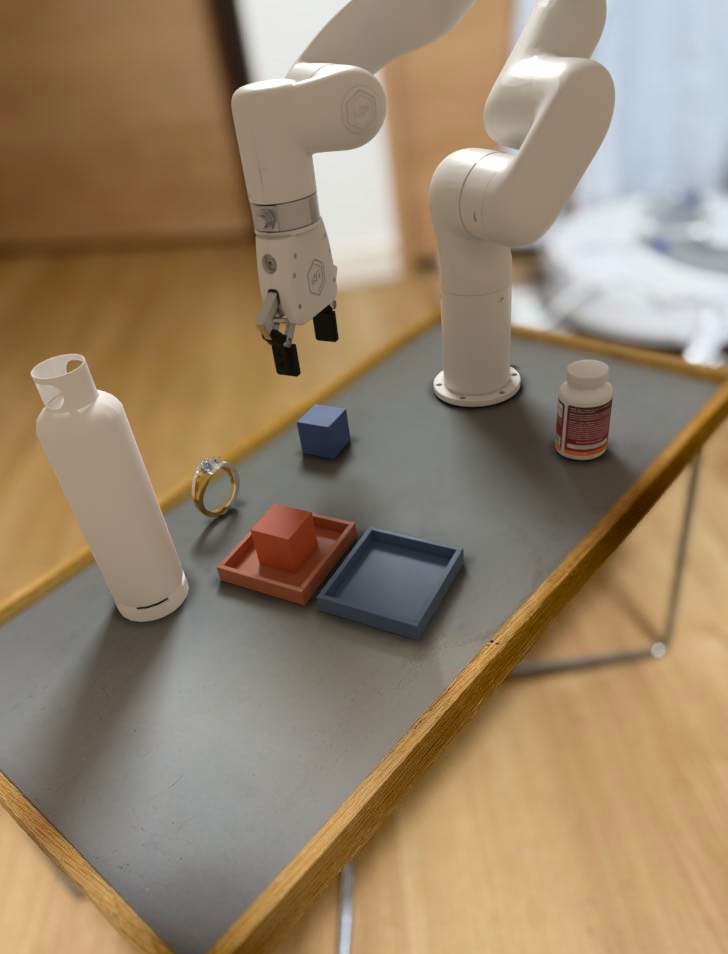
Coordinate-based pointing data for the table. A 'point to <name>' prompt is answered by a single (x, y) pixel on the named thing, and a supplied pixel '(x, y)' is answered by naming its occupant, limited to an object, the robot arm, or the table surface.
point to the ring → (199, 491)
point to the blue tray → (392, 581)
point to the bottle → (108, 489)
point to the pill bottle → (584, 410)
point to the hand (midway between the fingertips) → (308, 356)
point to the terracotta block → (285, 538)
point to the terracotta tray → (283, 584)
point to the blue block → (324, 431)
